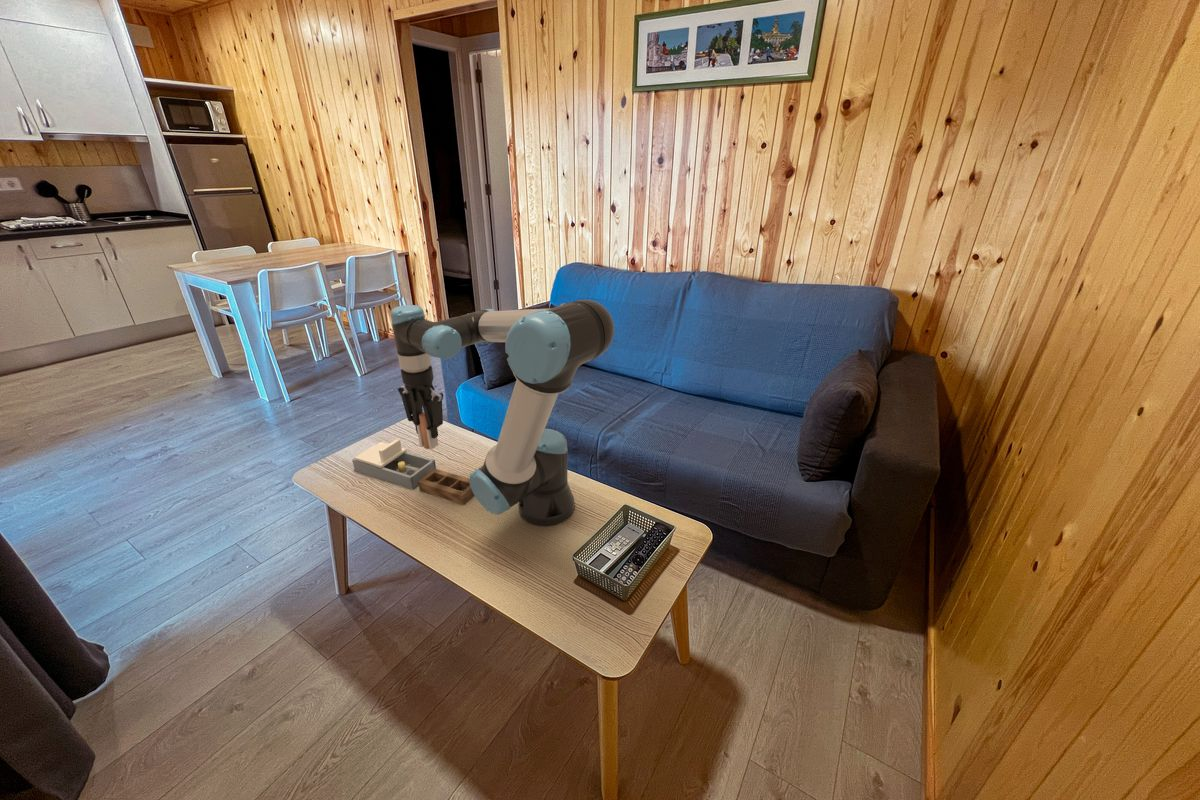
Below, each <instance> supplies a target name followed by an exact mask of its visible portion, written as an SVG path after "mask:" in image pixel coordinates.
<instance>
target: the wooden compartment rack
mask: <svg viewBox="0 0 1200 800" xmlns="http://www.w3.org/2000/svg"><path fill="white" fill-rule="evenodd" d="M417 487H418V490H419V491H420V492H423V493H426V494H429V495H432V496H435V497H437V498H441V499H444V500H448V501H450V502H453V503H457V504H460V505H465V504H466V503H467V502H468V501H469V500H470V499H472V497H473V496H475V495H474V493H473V492H472V489H471V487H470V483H469V477H468V478H467V477H464V476H462V475H458V474H454V473H450V472H448V471H444V470H441V469H437V468H436V469H434V470H433V471H431V472H430V473H429V474H427V475H426V476H425V477H423V478H422V479H421V480H419V481H418V486H417Z"/></svg>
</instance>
